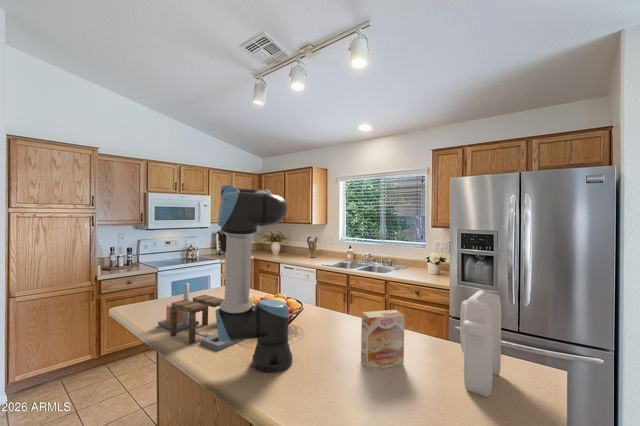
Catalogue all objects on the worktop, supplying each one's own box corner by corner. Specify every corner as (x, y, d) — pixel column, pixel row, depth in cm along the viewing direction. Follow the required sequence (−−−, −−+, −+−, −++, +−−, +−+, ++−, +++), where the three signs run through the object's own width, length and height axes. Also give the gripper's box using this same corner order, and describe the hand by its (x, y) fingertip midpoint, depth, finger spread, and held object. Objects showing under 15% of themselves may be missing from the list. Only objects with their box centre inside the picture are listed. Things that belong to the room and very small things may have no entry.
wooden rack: (229, 331, 148) (229, 300, 148) (193, 345, 132) (194, 310, 132) (184, 316, 167) (184, 289, 167) (149, 327, 151) (149, 296, 152)
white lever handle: (198, 324, 155) (199, 281, 155) (176, 331, 145) (177, 286, 145) (180, 318, 164) (180, 277, 164) (157, 324, 154) (158, 281, 154)
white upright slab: (470, 361, 121) (471, 284, 121) (503, 370, 114) (504, 289, 114) (449, 391, 100) (450, 299, 100) (487, 405, 93) (489, 305, 93)
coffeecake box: (367, 371, 112) (368, 317, 112) (360, 362, 119) (360, 311, 119) (404, 366, 116) (405, 314, 116) (395, 357, 123) (395, 308, 123)
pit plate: (244, 339, 138) (244, 335, 139) (218, 350, 127) (218, 345, 127) (226, 333, 145) (226, 329, 145) (200, 343, 133) (200, 339, 133)
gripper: (243, 217, 151) (243, 265, 150) (225, 217, 157) (224, 263, 157) (232, 217, 144) (231, 267, 144) (213, 217, 151) (212, 265, 150)
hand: (227, 265), depth 150 cm, fingers closed
